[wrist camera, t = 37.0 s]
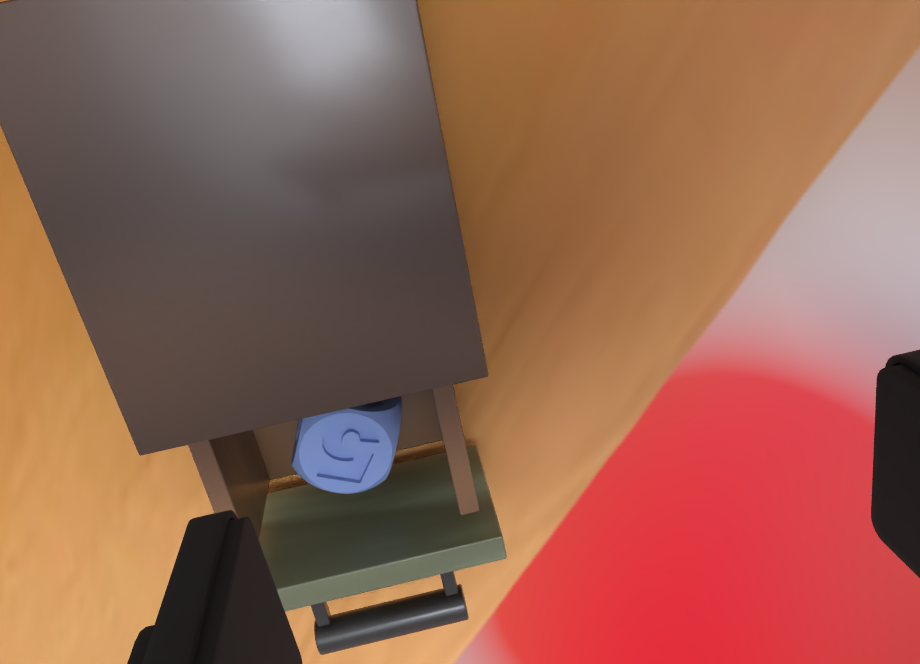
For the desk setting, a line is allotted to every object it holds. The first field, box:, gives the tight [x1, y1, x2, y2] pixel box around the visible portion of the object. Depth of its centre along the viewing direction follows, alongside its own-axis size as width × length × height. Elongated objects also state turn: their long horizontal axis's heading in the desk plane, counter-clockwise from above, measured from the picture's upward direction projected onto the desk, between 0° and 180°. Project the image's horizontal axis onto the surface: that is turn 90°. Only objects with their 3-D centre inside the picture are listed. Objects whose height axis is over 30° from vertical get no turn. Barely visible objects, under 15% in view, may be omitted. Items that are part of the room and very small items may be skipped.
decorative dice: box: [291, 396, 402, 494], centre depth 33 cm, size 4×4×4 cm
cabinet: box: [0, 0, 488, 455], centre depth 28 cm, size 15×13×9 cm
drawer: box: [188, 384, 507, 655], centre depth 33 cm, size 18×11×7 cm, turn 11°
